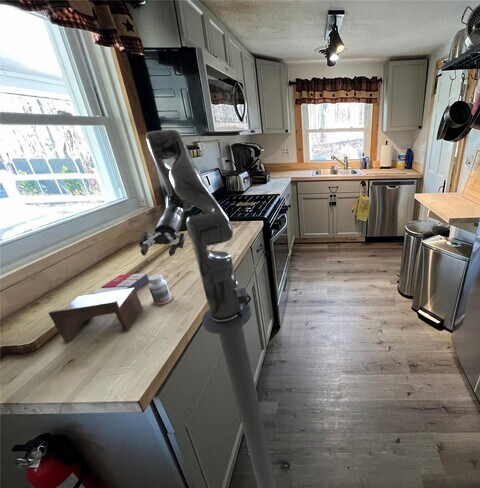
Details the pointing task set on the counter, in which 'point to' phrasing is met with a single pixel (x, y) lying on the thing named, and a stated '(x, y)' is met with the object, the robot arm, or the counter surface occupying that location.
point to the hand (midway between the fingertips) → (157, 254)
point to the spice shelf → (97, 310)
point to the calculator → (124, 283)
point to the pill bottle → (159, 289)
